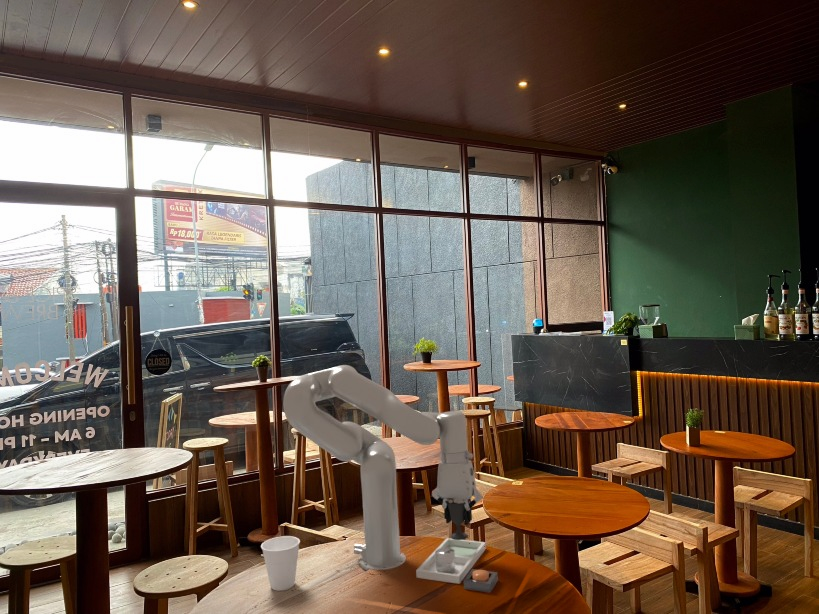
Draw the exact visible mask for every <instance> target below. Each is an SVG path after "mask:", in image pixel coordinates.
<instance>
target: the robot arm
mask: <svg viewBox="0 0 819 614" xmlns="http://www.w3.org/2000/svg"><path fill="white" fill-rule="evenodd" d="M334 397H336V398H338V399H340V400H342V401H344V402H345V403H347V404H349V405H351V406H353V407H354V408H357V409H359V410H361V411H363V412H364V413H366V414H368V415H369V416H371V417H373V418H374V419H376V420H377V421H378V422H381V423H382V424H384V425H385V426H387V427H389V428H390V429H392V430H394V431H395V432H396V433H398V434H399V435H401V436H403V437H405V438H407V439H409V440H410V441H413V442H415V443H417V444H419V445H422V446H431V445H433V444H435V443H436V442H437V441H438V440H439V449H440V461H438V468H437V483H436V484H437V485H436V487H435V489H434V490H433V492H432V493H431V496H432V497H433V498H434V500H437V502H438V503H439V504H440V505H441V507H442V509H443V513H444V514H443V515H444V519H445V524H450V522H452V520H451V517H450V513H449V508H448V504H446V502H447V501H448V499H462V500H463V501H464V504H465V503H466V504H465V510H464V525H465V526H469V524H470V523H471V522H472V520H473V515H472V514H473V513H472V508H473V507H474V506H475V505H476V504H478V503H479V502H480V501H482V499H483V495H482V494H481V492H479V489H478V488H477V485H476V484H477V483H476V477H475V471H474V466H473V462H472V461H471V460H470V459H473V456H474V454H473V453H471V452H470V451H469V450H468V439H467V438H468V434H467V422H466V421H467V420H466V415H465V413H464V412H461V411H457V410H455V411H454V410H452V411H451V410H450V411H444V412H435V411H434V412H431V411H422V412H420V411H418V410H416V409H414V408H412V407H411V406H409V405H408V404H407V403H404V402H403V401H402V400H401V399H400V398H398V397H397V396H396V395H395V393H394V392H392V391H391V390H390V389H388V388H386V387H385V386H382V385H381V384H379V383H378V382H375V381H373V380H372V379H369V378H367V377H365V376H364V375H362V374H361V373H358V371H357V370H356V368H355V367H353V366H351V365H347V364H342V365H338V366H334V367H331V368H327V369H323V370H319V371H314V372H310V373H306V374H302V375H300V376H298V377H297V378H295V379H293V380H292V381H291V382H290V383H289V384H288V386H287V387H286V389H285V391H284V395H283V412H284V416H285V418H286V420H287V422H288V423H289V424H290V425H291V427H292V428H293V429H294V430H295V431H296V432H298V433H299V434H301V435H302V436H304V437H305V438H306V439H308V440H310V441H311V442H312V443H314V445H317V446H319V447H320V448H321V449H323V450H324V451H326V453H329V455H331V456H332V457H334V458H336V459H337V460H339V461H342V462H351V461H353V462H355V463H357V464H358V465H360V482H361V495H362V496H361V497H362V510H363V511H362V513H363V531H364V544H362V543H355V544H354V546H353V554H354V555H361V558H360V560H359V563H360V565H359V566H360V567H361V568H362V569H363V570H364V571H369V570H376V571H383V570H391V569H394V568H397V567H400V566H402V565H404V564H405V562H406V559H407V557H406V555H405V554H404V553H403V552H401V545H400V528H399V524H400V523H399V512H398V511H399V508H398V491H397V466H396V464H397V462H396V457H395V455H396V454H395V452H394V450H393V448H392V447H391V445H390V444H389V443H387V442H385V441H384V440H382V439H381V438H380V437H378V436H377V435H375V434H374V433H372V432H370V431H369V430H368V429H366V428H364V427H363V426H362V425H360V424H358V423H356V422H353V421H343V422H342V421H339V420H338V419H337V418H334V416H333V415H331V414H330V413H328V412H326V411H324V410H321V409H320V408H319V407H318V406H317V405H316V403H317V402H320V401H323V400H328V399H332V398H334ZM473 496H474V497H475V498H473ZM472 498H473V499H472ZM468 500H469V501H468ZM445 501H446V502H445Z"/></svg>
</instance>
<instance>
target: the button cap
mask: <svg viewBox="0 0 819 614" xmlns="http://www.w3.org/2000/svg"><path fill="white" fill-rule="evenodd" d="M488 571H489V570H485V569H475V571H473V573H472V576H473V580H478V581H485V582H487V581H488V579H489V573H488Z"/></svg>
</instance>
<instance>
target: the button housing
mask: <svg viewBox="0 0 819 614" xmlns="http://www.w3.org/2000/svg"><path fill="white" fill-rule="evenodd" d="M475 570H476V568H475V569H474V568H471V569H470V571H469V572H468V573H467V575H466V576H465V577H464V579H463V589H464V590H470V591H477V592H483V593H489V594H490V593H491V592H492V591H493V590H494V588H495V586H496V584H497V583H498V581H499V578H498V576H499V574H498V571H497V572H495V571H490V570H487V571H488V573H489V579H488V581H487V582H485V581H478V580H473V576H472V573H473V571H475Z"/></svg>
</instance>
